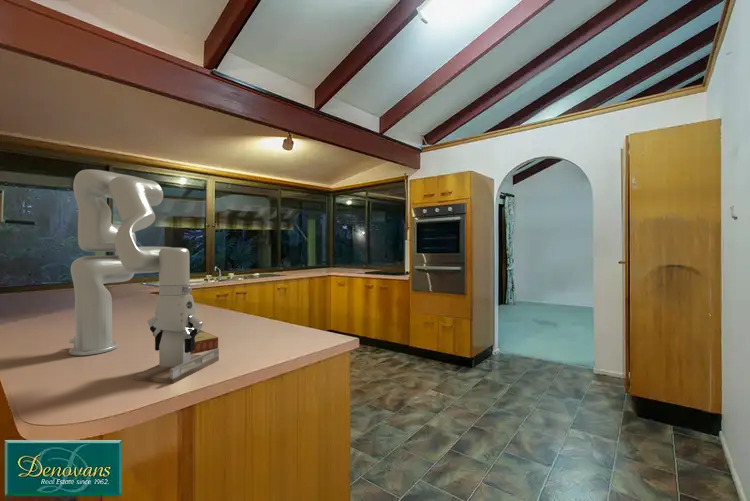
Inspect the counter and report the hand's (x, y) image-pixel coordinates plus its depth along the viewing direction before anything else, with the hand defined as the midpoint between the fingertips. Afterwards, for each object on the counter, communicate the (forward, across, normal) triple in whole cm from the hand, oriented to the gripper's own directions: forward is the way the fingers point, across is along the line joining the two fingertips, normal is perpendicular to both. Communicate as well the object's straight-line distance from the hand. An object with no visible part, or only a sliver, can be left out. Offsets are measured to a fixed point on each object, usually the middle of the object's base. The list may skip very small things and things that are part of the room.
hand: (175, 350), depth 97 cm
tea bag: (+4, 0, 0) cm, 4 cm away
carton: (+6, +10, -21) cm, 23 cm away
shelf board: (+5, -2, 0) cm, 6 cm away
